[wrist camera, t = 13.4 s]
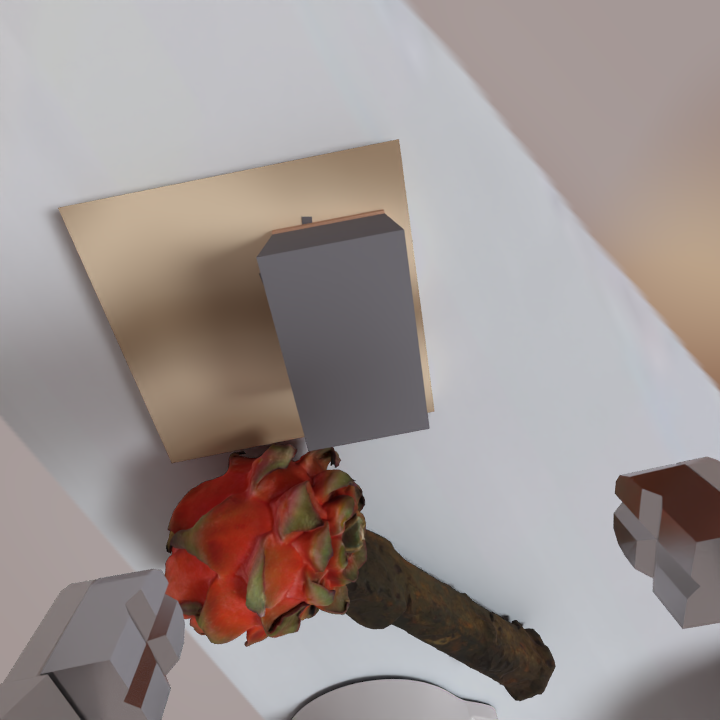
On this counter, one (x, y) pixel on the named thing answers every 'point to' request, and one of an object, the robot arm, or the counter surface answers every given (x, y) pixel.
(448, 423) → the counter surface
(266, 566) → the dragon fruit
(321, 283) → the block
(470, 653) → the dark brown rough rod
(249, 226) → the pine board
